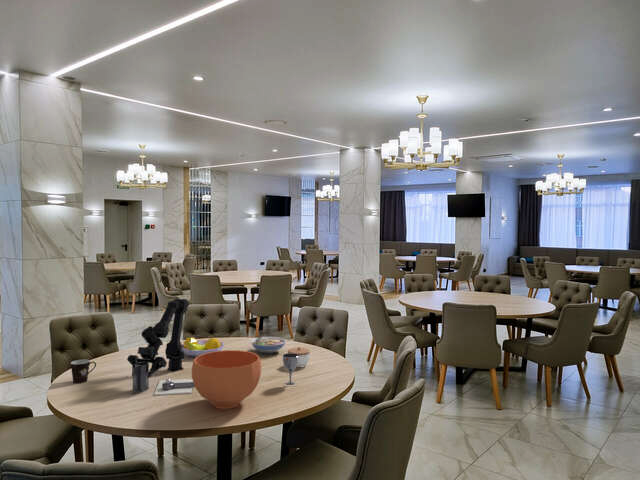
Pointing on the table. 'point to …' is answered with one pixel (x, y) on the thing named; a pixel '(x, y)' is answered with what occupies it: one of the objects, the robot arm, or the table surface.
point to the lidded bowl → (301, 355)
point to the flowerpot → (226, 376)
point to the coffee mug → (80, 370)
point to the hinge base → (174, 387)
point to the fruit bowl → (201, 346)
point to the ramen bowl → (268, 344)
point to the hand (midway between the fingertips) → (140, 376)
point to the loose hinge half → (140, 377)
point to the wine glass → (290, 364)
